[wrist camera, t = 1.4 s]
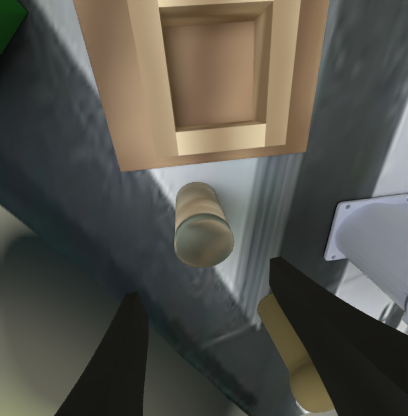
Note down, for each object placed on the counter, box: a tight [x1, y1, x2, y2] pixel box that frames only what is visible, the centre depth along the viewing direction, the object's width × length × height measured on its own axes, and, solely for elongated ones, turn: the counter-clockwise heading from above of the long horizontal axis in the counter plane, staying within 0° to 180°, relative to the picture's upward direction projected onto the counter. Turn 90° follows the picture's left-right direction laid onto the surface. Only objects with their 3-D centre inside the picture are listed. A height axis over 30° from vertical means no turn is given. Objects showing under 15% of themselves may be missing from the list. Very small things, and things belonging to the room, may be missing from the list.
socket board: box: [73, 0, 330, 172], centre depth 14 cm, size 16×12×4 cm
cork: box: [257, 293, 335, 413], centre depth 24 cm, size 6×6×11 cm
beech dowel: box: [174, 182, 234, 268], centre depth 17 cm, size 4×4×7 cm
